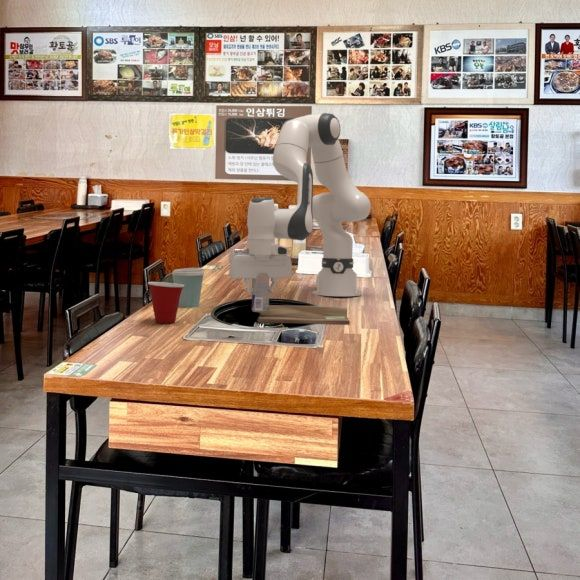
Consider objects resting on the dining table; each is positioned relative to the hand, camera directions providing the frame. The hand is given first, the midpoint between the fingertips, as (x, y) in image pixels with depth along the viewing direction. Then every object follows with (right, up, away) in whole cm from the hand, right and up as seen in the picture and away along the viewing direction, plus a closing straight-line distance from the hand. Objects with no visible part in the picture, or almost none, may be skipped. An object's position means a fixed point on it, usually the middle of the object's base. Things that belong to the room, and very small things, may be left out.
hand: (260, 292), depth 207 cm
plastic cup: (-28, -9, -10) cm, 31 cm away
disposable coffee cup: (-25, -7, +14) cm, 29 cm away
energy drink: (0, -6, +1) cm, 6 cm away
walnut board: (+14, -9, -1) cm, 16 cm away
